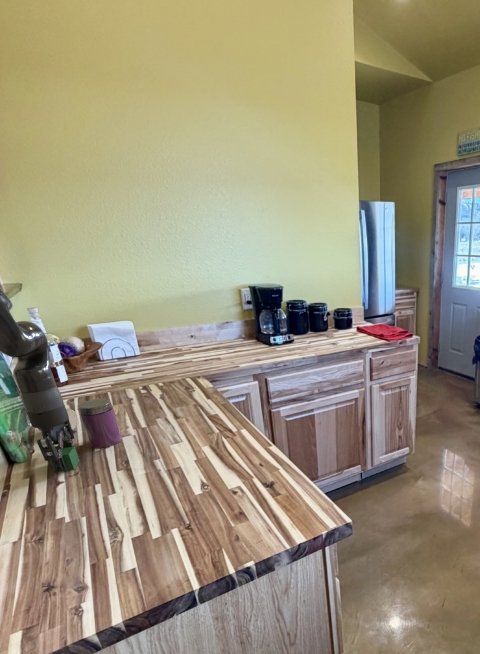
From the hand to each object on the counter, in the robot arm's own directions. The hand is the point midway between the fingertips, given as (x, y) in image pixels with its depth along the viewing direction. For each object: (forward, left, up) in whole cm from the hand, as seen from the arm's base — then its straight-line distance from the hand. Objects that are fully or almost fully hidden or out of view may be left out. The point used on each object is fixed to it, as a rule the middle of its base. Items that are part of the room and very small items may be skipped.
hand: (66, 464), depth 109 cm
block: (0, 0, -1) cm, 1 cm away
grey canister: (-9, +27, -1) cm, 28 cm away
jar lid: (+6, +13, +11) cm, 18 cm away
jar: (+6, +13, -1) cm, 14 cm away
